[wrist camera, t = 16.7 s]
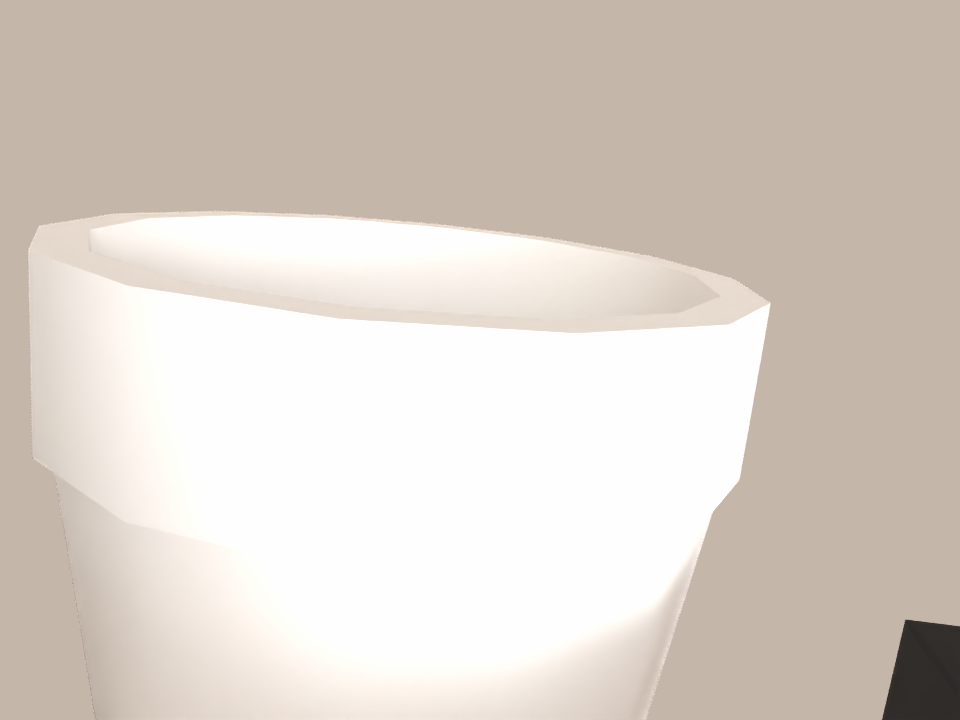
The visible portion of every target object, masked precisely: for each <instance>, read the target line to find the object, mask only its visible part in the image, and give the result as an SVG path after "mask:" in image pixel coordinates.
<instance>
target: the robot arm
mask: <svg viewBox="0 0 960 720" xmlns="http://www.w3.org/2000/svg"><path fill="white" fill-rule="evenodd" d="M882 720H960V626H952V625H944V624H936V623H928V622H921V621H912V620H905V624H904V628H903V633H902V637H901V641H900V646H899V650H898V654H897V658H896V663H895V667H894V671H893V675H892V680H891V684H890V689H889V693H888V697H887V701H886V706H885V710H884V714H883V718H882Z"/></svg>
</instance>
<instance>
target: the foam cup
mask: <svg viewBox="0 0 960 720" xmlns="http://www.w3.org/2000/svg"><path fill="white" fill-rule="evenodd" d="M28 269H29V313H30V314H29V317H30V361H31V362H30V364H31V408H32V409H31V410H32V456H33V457H32V458H33V459H35V460H36V461H38V462H39V463H41V464H42V465H44V466H45V467H46V468H48V469H49V470H51V471H52V472H54V473H55V479H56V485H57V491H58V497H59V503H60V509H61V515H62V521H63V527H64V533H65V539H66V545H67V551H68V557H69V563H70V569H71V575H72V581H73V587H74V594H75V599H76V606H77V612H78V617H79V624H80V630H81V636H82V642H83V647H84V654H85V660H86V665H87V672H88V678H89V683H90V690H91V696H92V702H93V708H94V713H95V719H96V720H646V717H647V714H648V712H649V708H650V705H651V702H652V699H653V696H654V693H655V690H656V687H657V683H658V680H659V677H660V674H661V671H662V668H663V665H664V662H665V659H666V655H667V652H668V649H669V646H670V643H671V640H672V637H673V634H674V630H675V627H676V624H677V621H678V618H679V615H680V612H681V609H682V605H683V602H684V599H685V596H686V593H687V590H688V587H689V584H690V581H691V577H692V574H693V571H694V568H695V565H696V562H697V559H698V556H699V552H700V549H701V546H702V543H703V540H704V537H705V534H706V531H707V527H708V524H709V521H710V518H711V515H712V512H713V510H714V509H715V508H716V507H717V506H718V504H719V503H720V502H721V501H722V500H723V499H724V497H725V496H726V495H727V494H728V492H729V491H730V490H731V489H732V488H733V487H734V486H735V484H736V483H737V482H738V481H739V478H740V473H741V467H742V461H743V456H744V450H745V444H746V439H747V433H748V428H749V422H750V416H751V411H752V405H753V399H754V393H755V388H756V382H757V377H758V370H759V365H760V360H761V354H762V348H763V342H764V337H765V332H766V326H767V320H768V315H769V309H770V302H768V301H767V300H765V299H764V298H762V297H761V296H759V295H757V294H756V293H754V292H753V291H751V290H750V289H748V288H747V287H745V286H744V285H742V284H741V283H739V282H738V281H736V280H735V279H733V278H729V277H726V276H722V275H719V274H715V273H711V272H707V271H704V270H700V269H697V268H693V267H689V266H686V265H682V264H679V263H675V262H672V261H668V260H664V259H661V258H657V257H653V256H648V255H642V254H636V253H631V252H626V251H620V250H615V249H609V248H604V247H598V246H593V245H587V244H581V243H576V242H570V241H565V240H560V239H554V238H546V237H538V236H530V235H522V234H515V233H506V232H499V231H491V230H483V229H475V228H467V227H459V226H451V225H443V224H431V223H419V222H407V221H395V220H383V219H371V218H358V217H346V216H334V215H313V214H286V213H258V212H232V211H198V212H159V213H120V214H119V213H118V214H109V215H102V216H96V217H90V218H84V219H78V220H72V221H65V222H59V223H53V224H47V225H41V226H39V227H38V229H37V232H36V234H35V236H34V238H33V241H32V243H31V245H30V247H29V249H28Z"/></svg>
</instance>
